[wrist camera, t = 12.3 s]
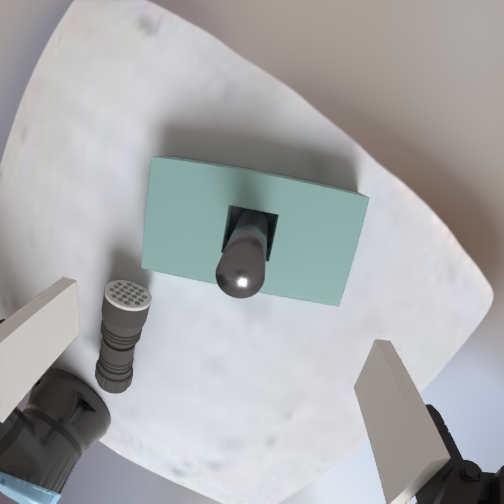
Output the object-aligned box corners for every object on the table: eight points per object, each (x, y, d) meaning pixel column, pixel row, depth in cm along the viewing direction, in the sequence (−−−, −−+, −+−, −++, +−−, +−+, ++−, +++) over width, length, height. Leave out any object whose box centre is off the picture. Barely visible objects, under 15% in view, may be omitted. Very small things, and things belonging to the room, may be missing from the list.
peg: (236, 235, 33) (212, 293, 20) (241, 207, 32) (219, 247, 19) (264, 240, 33) (259, 302, 20) (270, 212, 32) (269, 257, 19)
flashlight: (136, 379, 41) (123, 403, 35) (103, 363, 40) (87, 386, 35) (157, 292, 36) (141, 314, 31) (117, 274, 36) (96, 293, 30)
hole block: (154, 255, 34) (141, 268, 30) (165, 155, 31) (152, 156, 27) (332, 289, 34) (338, 306, 30) (358, 192, 31) (369, 197, 27)
